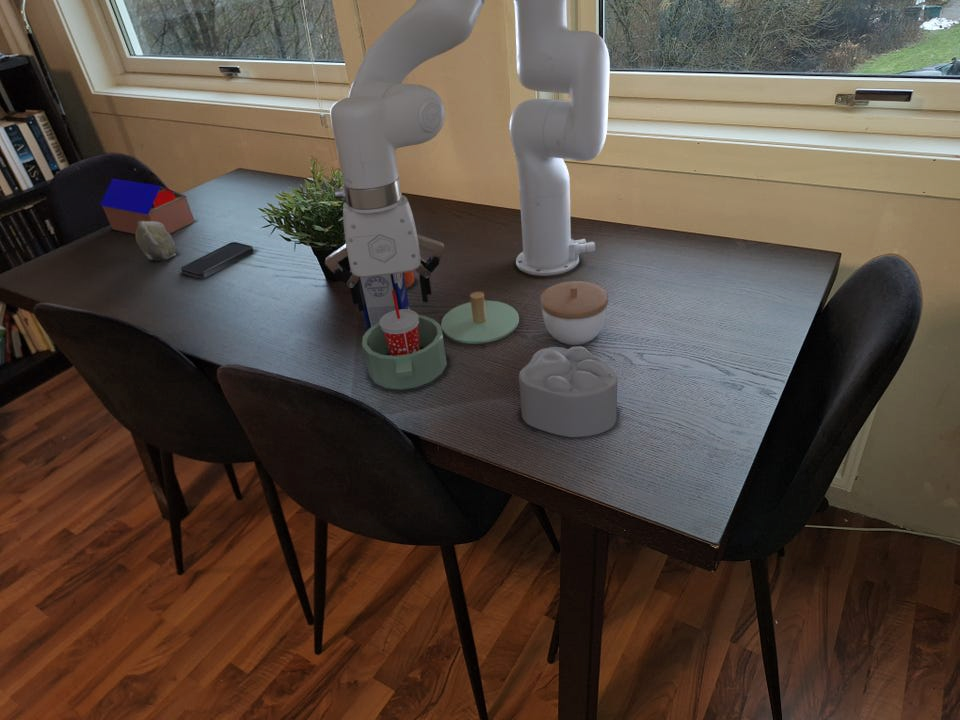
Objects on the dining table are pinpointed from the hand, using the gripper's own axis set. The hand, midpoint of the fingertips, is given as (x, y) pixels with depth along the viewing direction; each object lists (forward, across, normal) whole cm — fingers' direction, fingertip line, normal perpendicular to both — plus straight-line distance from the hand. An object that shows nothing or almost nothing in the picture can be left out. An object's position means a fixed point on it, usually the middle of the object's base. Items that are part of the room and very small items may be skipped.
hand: (393, 302), depth 100 cm
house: (+12, -65, +83) cm, 106 cm away
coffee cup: (+12, -1, +30) cm, 33 cm away
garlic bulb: (+13, -57, +61) cm, 84 cm away
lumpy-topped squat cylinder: (+13, +23, -17) cm, 31 cm away
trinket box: (+12, +28, +2) cm, 31 cm away
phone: (+12, -42, +53) cm, 69 cm away
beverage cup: (+12, 0, 0) cm, 12 cm away
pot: (+12, 0, 0) cm, 12 cm away
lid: (+12, +13, +10) cm, 21 cm away
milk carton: (+12, -3, +15) cm, 20 cm away
